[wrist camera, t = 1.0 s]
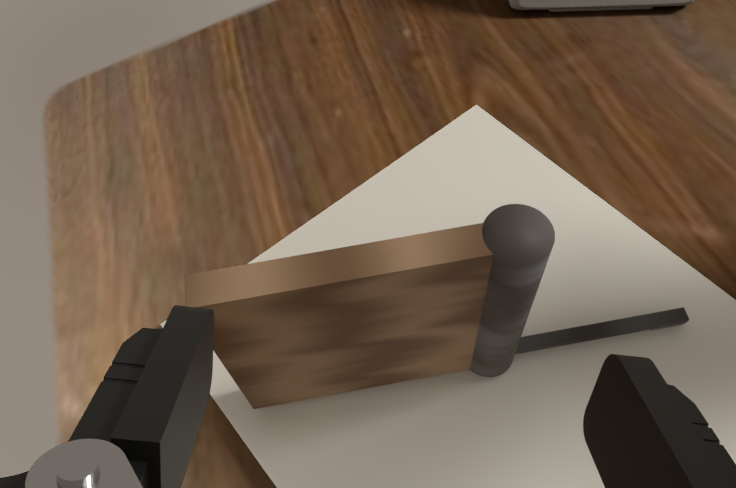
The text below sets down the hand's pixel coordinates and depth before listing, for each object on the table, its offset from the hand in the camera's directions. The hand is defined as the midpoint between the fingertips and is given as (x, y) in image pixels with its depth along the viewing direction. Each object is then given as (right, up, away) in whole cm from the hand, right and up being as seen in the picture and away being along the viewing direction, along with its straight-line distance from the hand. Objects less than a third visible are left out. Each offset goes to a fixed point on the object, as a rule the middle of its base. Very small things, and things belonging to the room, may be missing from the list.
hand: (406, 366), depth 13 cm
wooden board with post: (+5, -4, +25) cm, 26 cm away
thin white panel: (+6, -4, +26) cm, 27 cm away
